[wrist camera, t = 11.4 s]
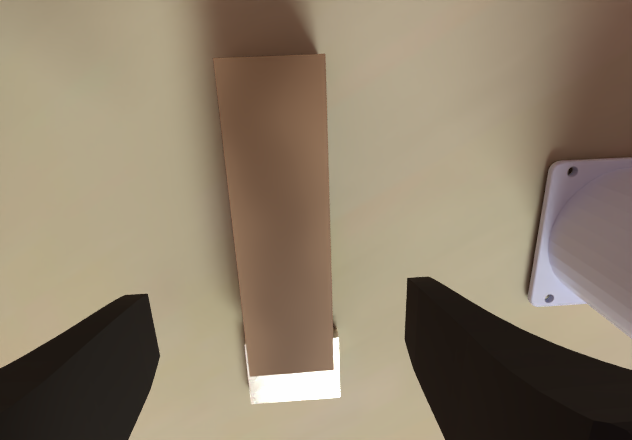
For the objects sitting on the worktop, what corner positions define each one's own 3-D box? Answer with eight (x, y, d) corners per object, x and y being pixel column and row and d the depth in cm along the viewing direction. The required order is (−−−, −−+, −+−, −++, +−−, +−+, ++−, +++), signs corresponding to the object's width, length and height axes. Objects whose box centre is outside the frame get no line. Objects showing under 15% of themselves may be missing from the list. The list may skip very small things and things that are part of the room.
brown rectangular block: (329, 56, 18) (339, 53, 15) (337, 384, 24) (345, 433, 21) (215, 60, 18) (198, 58, 15) (252, 391, 24) (247, 441, 21)
